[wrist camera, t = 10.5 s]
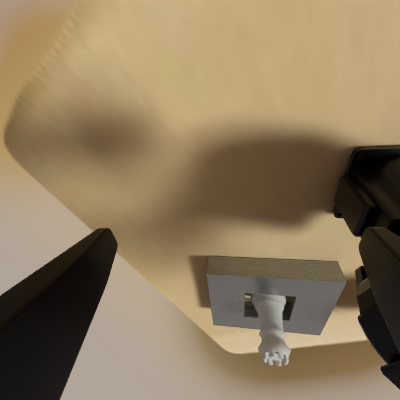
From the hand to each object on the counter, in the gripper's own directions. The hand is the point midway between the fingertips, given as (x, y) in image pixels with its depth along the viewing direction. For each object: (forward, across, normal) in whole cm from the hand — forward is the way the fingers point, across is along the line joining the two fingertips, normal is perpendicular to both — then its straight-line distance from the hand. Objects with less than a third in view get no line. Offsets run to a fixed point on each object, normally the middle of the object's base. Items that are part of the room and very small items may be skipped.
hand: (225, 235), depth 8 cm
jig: (+11, -3, +21) cm, 24 cm away
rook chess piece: (+11, -4, +21) cm, 24 cm away
